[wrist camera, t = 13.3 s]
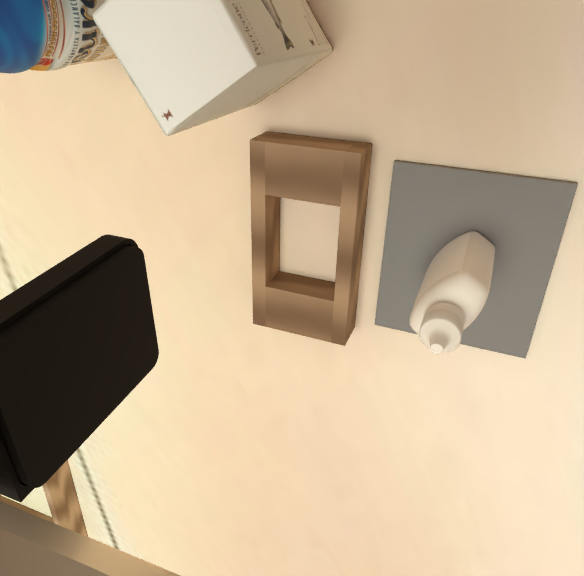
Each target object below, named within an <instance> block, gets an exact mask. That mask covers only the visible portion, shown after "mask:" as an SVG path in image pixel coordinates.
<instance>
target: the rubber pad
mask: <svg viewBox="0 0 584 576" xmlns="http://www.w3.org/2000/svg"><path fill="white" fill-rule="evenodd" d="M577 185H578V184H577V183H576V182H568V181H560V180H552V179H544V178H536V177H527V176H519V175H511V174H503V173H495V172H487V171H478V170H470V169H462V168H454V167H446V166H438V165H430V164H421V163H413V162H405V161H397V160H395V161H394V166H393V175H392V183H391V191H390V200H389V208H388V217H387V225H386V233H385V242H384V250H383V259H382V267H381V276H380V284H379V292H378V301H377V309H376V318H375V325H379V326H383V327H388V328H392V329H397V330H401V331H406V332H410V333H414V334H417V333H416V332H415V331H414V330H413V329H412V327H411V326H410V316H411V312H412V309H413V306H414V304H415V301H416V298H417V295H418V293H419V290H420V287H421V285H422V282H423V279H424V277H425V274H426V271H427V269H428V267H429V265H430V263H431V261H432V260H433V258H434V257H435V255H436V254H437V253H438V252H439V251H440V250H441V249H442V248H443V247H444V246H445V245H446V244H447V243H449V242H450V241H452V240H453V239H455V238H456V237H458V236H460V235H462V234H465V233H467V232H470V231H475V232H478V233H479V234H481V235H482V236H483V237H484V238H486V239H487V240H488V241H489V242H491V243H492V244H493V246H494V247H495V256H494V264H493V271H492V278H491V285H490V291H489V294H488V297H487V300H486V302H485V305H484V306H483V308H482V310H481V312H480V313H479V315H478V316H477V317H476V319H475V320H474V321H473V322H472V323H471V324H470V325H469V326H468V327H467V328H466V329H464V330H463V335H462V340H461V342H460V344H463V345H468V346H472V347H477V348H481V349H486V350H490V351H495V352H499V353H503V354H508V355H512V356H517V357H521V358H526V355H527V351H528V348H529V345H530V341H531V338H532V335H533V331H534V328H535V325H536V321H537V318H538V315H539V311H540V308H541V305H542V301H543V298H544V295H545V291H546V288H547V285H548V281H549V278H550V275H551V271H552V268H553V265H554V261H555V258H556V255H557V251H558V248H559V245H560V241H561V238H562V235H563V231H564V228H565V225H566V221H567V218H568V215H569V211H570V208H571V205H572V201H573V198H574V195H575V191H576V188H577Z"/></svg>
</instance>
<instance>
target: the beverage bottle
mask: <svg viewBox="0 0 584 576" xmlns="http://www.w3.org/2000/svg"><path fill="white" fill-rule="evenodd" d="M105 1H106V0H0V72H1V73H19V72H23V71H26V70H28V69H31V70H37V71H49V70H57V69H61V68H64V67H66V66H68V65H73V64H80V63H86V62H93V61H99V60H106V59H113V58H117V57H116V55H115V53H114V52H113V50H112V49H111V47H110V45H109V44H108V42H107V40H106V39H105V37H104V36H103V34H102V33H101V31H100V29H99V28H98V26H97V25H96V23H95V21H94V19H93V13H94V12H95V11H96V10H97V9H98V8H99V7H100V6H101V5H102V4H103V3H104V2H105Z"/></svg>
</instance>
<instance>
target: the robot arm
mask: <svg viewBox="0 0 584 576" xmlns="http://www.w3.org/2000/svg"><path fill="white" fill-rule="evenodd" d="M158 354H159V350H158V343H157V337H156V330H155V324H154V318H153V311H152V305H151V298H150V292H149V285H148V279H147V272H146V266H145V259H144V254H143V252H142V250H141V249H140V248H138V245H137V244H136V242H135V241H134V240H132V239H128V238H123V237H118V236H113V235H104V236H101V237H100V238H98V239H97V240H95V241H93V242H92V243H90V244H89V245H87V246H85V247H84V248H82V249H81V250H79V251H78V252H76V253H74V254H73V255H71V256H70V257H68V258H66V259H65V260H63V261H62V262H60V263H58V264H57V265H55V266H54V267H52V268H51V269H49V270H47V271H46V272H44V273H43V274H41V275H39V276H38V277H36V278H35V279H33V280H31V281H30V282H28V283H27V284H25V285H24V286H22V287H20V288H19V289H17V290H16V291H14V292H12V293H11V294H9V295H8V296H6V297H5V298H3V299H1V300H0V494H2V495H4V496H7V497H9V498H12V499H14V500H16V501H19V502H22V501H23V500H24V499H25V497H26V496H27V495H28V494H29V493H30V492H31V491H32V490H33V489H34V488H37V487H40V486H42V485H44V484H45V483H46V482H47V481H48V480H49V479H50V478H51V477H52V476H53V475H54V473H55V472H56V471H57V470H58V469H59V468H60V467H61V466H62V465H63V464H64V463H65V462H66V461H67V460H68V458H69V457H70V456H71V455H72V454H73V453H74V452H75V451H76V450H77V449H78V448H79V447H80V446H81V445H82V444H83V442H84V441H85V440H86V439H87V438H88V437H89V436H90V435H91V434H92V433H93V432H94V431H95V430H96V429H97V427H98V426H99V425H100V424H101V423H102V422H103V421H104V420H105V419H106V418H107V417H108V416H109V415H110V414H111V412H112V411H113V410H114V409H115V408H116V407H117V406H118V405H119V404H120V403H121V402H122V401H123V400H124V399H125V397H126V396H127V395H128V394H129V393H130V392H131V391H132V390H133V389H134V388H135V387H136V386H137V385H138V384H139V382H140V381H141V380H142V379H143V378H144V377H145V376H146V375H147V374H148V373H149V372H150V371H151V370H152V369H153V367H154V366H155V364H156V362H157V359H158ZM0 576H180V575H177V574H175V573H173V572H170V571H168V570H165V569H163V568H161V567H158V566H156V565H153V564H151V563H149V562H146V561H144V560H142V559H139V558H137V557H134V556H132V555H130V554H127V553H125V552H122V551H120V550H118V549H115V548H113V547H110V546H108V545H106V544H103V543H101V542H98V541H96V540H94V539H91V538H89V537H86V536H84V535H82V534H79V533H77V532H74V531H72V530H69V529H67V528H65V527H62V526H60V525H57V524H55V523H52V522H50V521H48V520H45V519H43V518H40V517H38V516H35V515H33V514H31V513H28V512H26V511H23V510H21V509H18V508H16V507H14V506H11V505H9V504H6V503H4V502H1V501H0Z"/></svg>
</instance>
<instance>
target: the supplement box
mask: <svg viewBox="0 0 584 576" xmlns="http://www.w3.org/2000/svg"><path fill="white" fill-rule="evenodd" d="M93 19H94V21H95V23H96V25H97V26H98V28H99V29H100V31H101V33H102V34H103V36H104V37H105V39H106V40H107V42H108V44H109V45H110V47H111V49H112V50H113V52H114V53H115V55H116V57H117V58H118V60H119V61H120V63H121V65H122V66H123V68H124V69H125V71H126V73H127V74H128V76H129V78H130V80H131V81H132V83H133V84H134V86H135V87H136V89H137V90H138V92H139V93H140V95H141V97H142V98H143V100H144V101H145V103H146V105H147V106H148V108H149V109H150V111H151V113H152V114H153V116H154V118H155V119H156V121H157V122H158V124H159V126H160V127H161V129H162V131H163V133H164V134H165V135H166V136H170V135H173V134H175V133H178V132H181V131H183V130H186V129H189V128H192V127H194V126H197V125H200V124H202V123H205V122H208V121H211V120H214V119H216V118H219V117H222V116H224V115H227V114H230V113H233V112H235V111H238V110H241V109H244V108H246V107H249V106H252V105H255V104H257V103H259V102H260V101H262V100H263V99H265V98H266V97H267V96H269V95H270V94H272V93H273V92H275V91H276V90H278V89H279V88H281V87H282V86H284V85H285V84H287V83H288V82H290V81H291V80H293V79H294V78H295V77H297V76H298V75H300V74H301V73H303V72H304V71H306V70H307V69H308V68H310V67H311V66H313V65H314V64H316V63H317V62H319V61H320V60H322V59H323V58H324V57H326V56H327V55H329V54H330V53H331V52H332V51H333V49H332V47H331V45H330V43H329V42H328V40H327V38H326V37H325V35H324V33H323V31H322V30H321V28H320V26H319V24H318V22H317V20H316V19H315V17H314V15H313V13H312V11H311V9H310V7H309V5H308V3H307V2H306V0H106V1H105V2H104V3H103V4H102V5H101V6H100V7H99V8H98V9H97V10H96V11H95V12H94V13H93Z"/></svg>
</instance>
